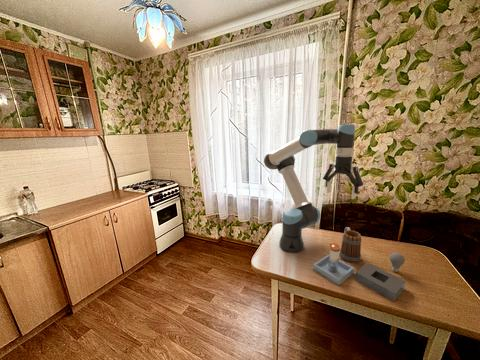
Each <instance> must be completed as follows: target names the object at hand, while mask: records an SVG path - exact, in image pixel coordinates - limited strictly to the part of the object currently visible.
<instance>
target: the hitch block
mask: <svg viewBox="0 0 480 360" xmlns="http://www.w3.org/2000/svg"><path fill="white" fill-rule="evenodd" d="M354 280H355V281H357V282H359V283H360V284H362V285H363V286H366V287H368V288H369V289H371V290H373V291H375V292H376V293H378V294H380V295H382V296H383V297H385V298H387V299H389V300H390V301H392V302H395V301H397V299H398V297H399V296H400V295H401V294H402V293H403V291H404V290H405V288H406V284H407V283H406V282H407V281H406V280H404V279H402V278H401V277H399V276H398V275H397V276H396V275H394V274H392V273H391V272H389V271H386V270H384V269H381V268H380V267H377V266H375V265H373V264H371V263H370V262H369V263H368V262H367V263H365V264H364V265H362V267H360V268H359V269H357V271H355V273H354Z"/></svg>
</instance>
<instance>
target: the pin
mask: <svg viewBox="0 0 480 360" xmlns="http://www.w3.org/2000/svg"><path fill="white" fill-rule="evenodd" d="M340 249H341V246H340V244H338V243H330V244H329V254H328V255H329V264H328V270H329V271H330V272H332V273H336V272H337V271H338V261H339V258H340Z"/></svg>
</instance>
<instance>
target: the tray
mask: <svg viewBox="0 0 480 360" xmlns="http://www.w3.org/2000/svg"><path fill="white" fill-rule="evenodd" d="M328 264H329V254H326V256H324V257H322V258H321V259H319V260H318V261H316V262H315V263H313V264H312V270H313V271H314V272H315V273H317V274H318V275H319V274H320V276H323V277H324V278H326V279H328V280H329V281H330V282H331V283H333V284H335V285H337V286H340V285H341V284H342V283H344V282H345V281H346V280H347V279H348V278H350V277H351V276H352V275H353V274H355V273H354V272H355V267H353V266H351V265H349V264H348V263H346V262H344V261H342V260H339V261H338V271H337V272H336V273H332V272H330V271H329V270H328Z"/></svg>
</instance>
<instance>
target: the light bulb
mask: <svg viewBox="0 0 480 360" xmlns="http://www.w3.org/2000/svg"><path fill="white" fill-rule="evenodd" d="M389 260H390V262H391V271H392V272H396V273H398V272H399V270H400V268H401V266H403V265H405V262H406V260H405V256H404V255H403V254H402V253H400V252H392V253H391V254H390V255H389Z"/></svg>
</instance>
